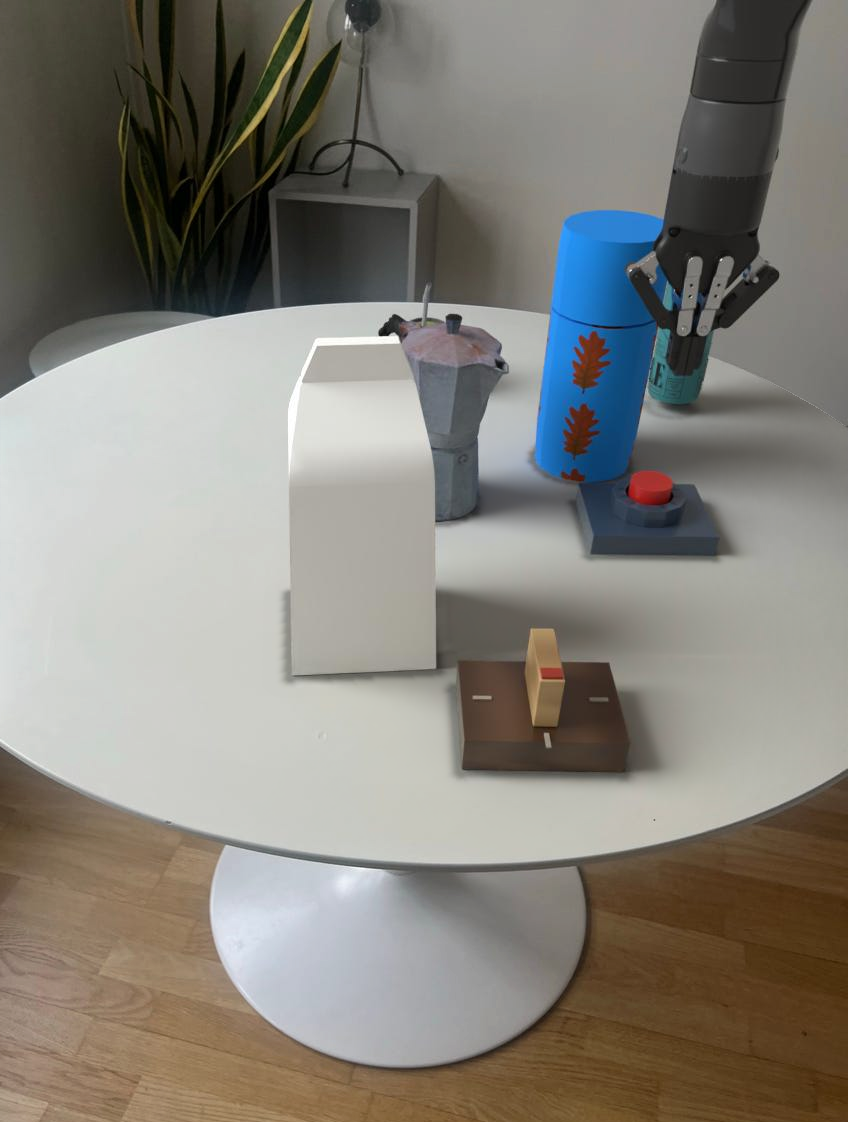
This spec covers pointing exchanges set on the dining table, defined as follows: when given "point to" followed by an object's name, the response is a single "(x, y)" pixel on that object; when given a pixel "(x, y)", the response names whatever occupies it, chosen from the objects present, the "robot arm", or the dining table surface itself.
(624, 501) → the button box
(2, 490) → the dining table surface
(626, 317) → the thermos
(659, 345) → the beverage bottle
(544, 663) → the handle
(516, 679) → the panel
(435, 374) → the moka pot
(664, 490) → the button
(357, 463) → the milk
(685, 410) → the dining table surface
